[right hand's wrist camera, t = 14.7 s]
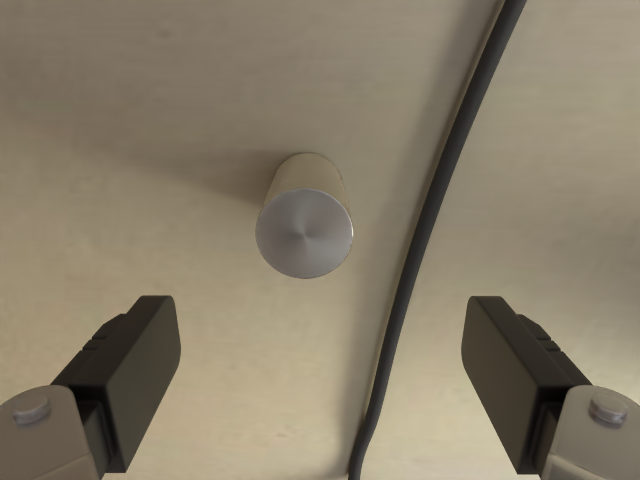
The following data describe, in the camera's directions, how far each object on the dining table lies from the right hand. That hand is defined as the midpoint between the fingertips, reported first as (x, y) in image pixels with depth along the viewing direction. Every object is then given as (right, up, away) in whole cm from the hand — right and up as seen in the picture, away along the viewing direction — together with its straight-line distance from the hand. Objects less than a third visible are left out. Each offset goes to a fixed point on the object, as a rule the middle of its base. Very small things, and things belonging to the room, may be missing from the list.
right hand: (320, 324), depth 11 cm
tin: (-1, +5, +13) cm, 14 cm away
